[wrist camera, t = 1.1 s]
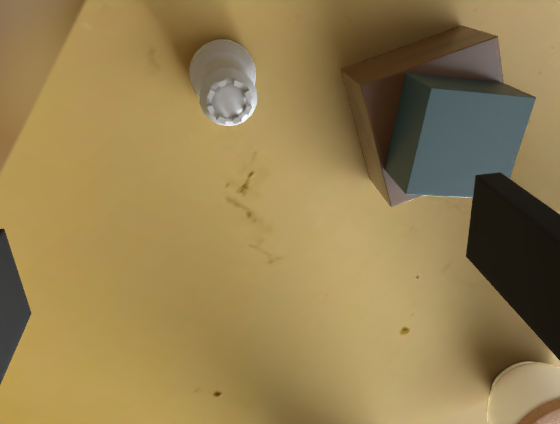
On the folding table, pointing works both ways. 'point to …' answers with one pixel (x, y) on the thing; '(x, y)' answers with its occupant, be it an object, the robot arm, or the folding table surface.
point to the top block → (455, 133)
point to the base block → (389, 83)
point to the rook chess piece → (224, 81)
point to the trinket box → (525, 395)
